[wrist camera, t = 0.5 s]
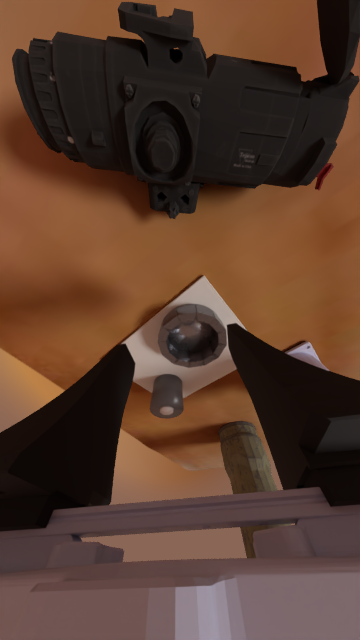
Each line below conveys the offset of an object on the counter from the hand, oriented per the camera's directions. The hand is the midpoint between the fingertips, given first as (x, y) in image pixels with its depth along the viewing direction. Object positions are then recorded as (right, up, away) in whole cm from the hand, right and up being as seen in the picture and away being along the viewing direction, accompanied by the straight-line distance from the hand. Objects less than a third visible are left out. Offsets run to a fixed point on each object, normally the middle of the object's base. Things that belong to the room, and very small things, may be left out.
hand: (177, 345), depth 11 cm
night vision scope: (+1, +16, +2) cm, 16 cm away
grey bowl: (+2, 0, +11) cm, 11 cm away
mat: (+1, -4, +14) cm, 14 cm away
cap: (-2, -9, +16) cm, 19 cm away
